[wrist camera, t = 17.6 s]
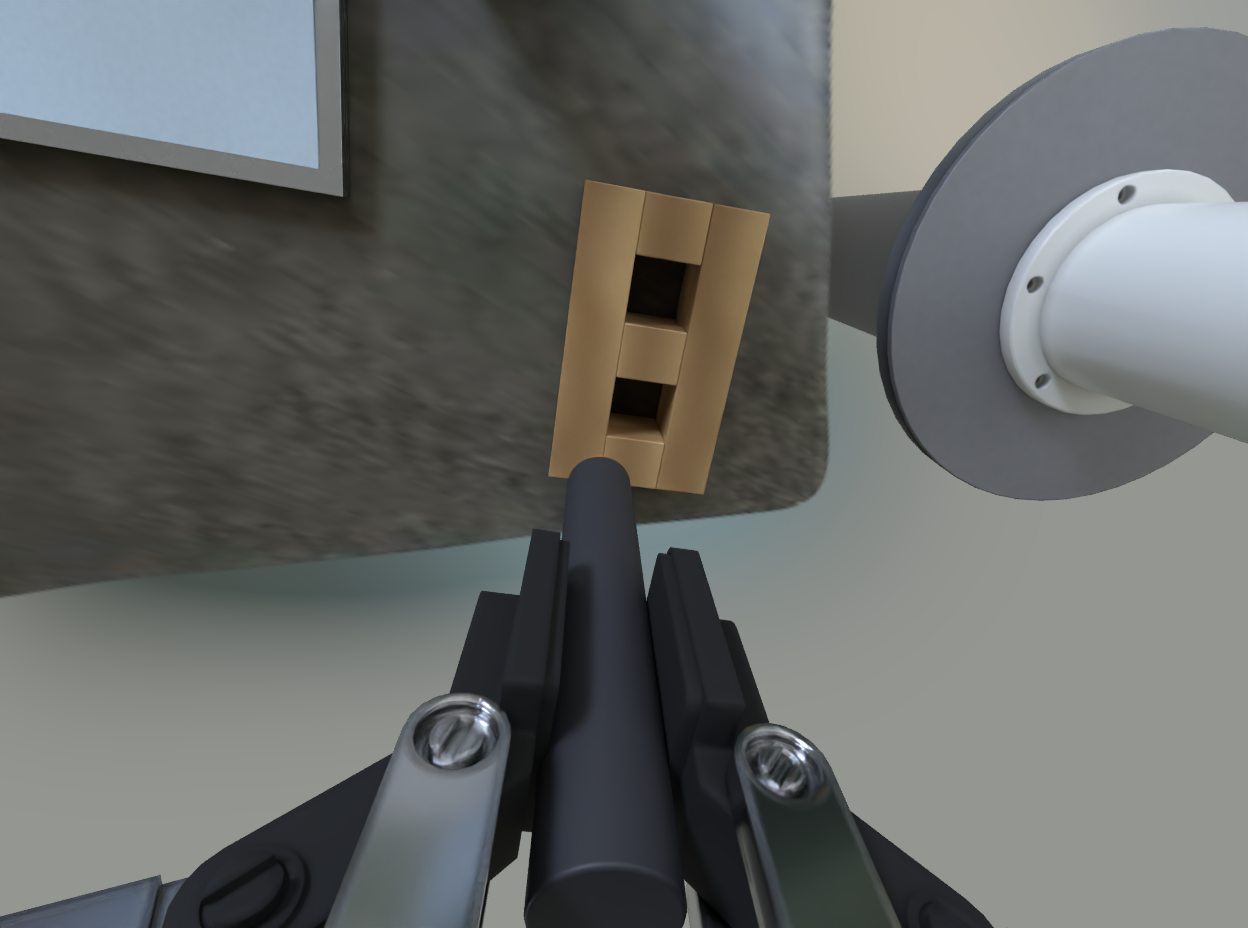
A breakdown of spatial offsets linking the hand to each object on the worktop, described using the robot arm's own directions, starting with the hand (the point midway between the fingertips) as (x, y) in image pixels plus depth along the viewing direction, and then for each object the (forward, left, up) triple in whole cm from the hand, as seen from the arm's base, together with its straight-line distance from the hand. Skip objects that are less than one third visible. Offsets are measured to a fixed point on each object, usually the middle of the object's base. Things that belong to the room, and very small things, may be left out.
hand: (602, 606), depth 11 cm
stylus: (0, 0, -7) cm, 7 cm away
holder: (-3, -1, -22) cm, 22 cm away
